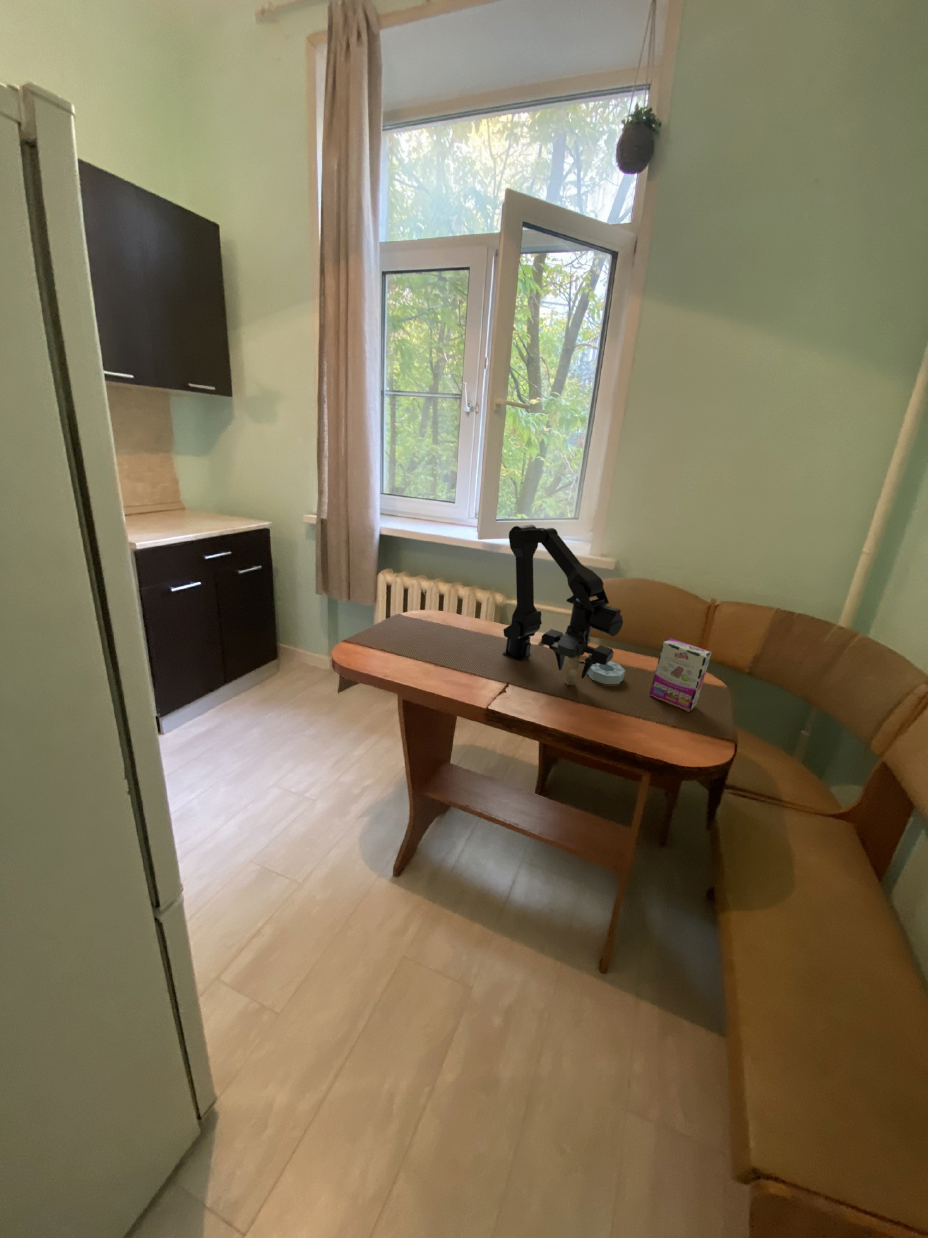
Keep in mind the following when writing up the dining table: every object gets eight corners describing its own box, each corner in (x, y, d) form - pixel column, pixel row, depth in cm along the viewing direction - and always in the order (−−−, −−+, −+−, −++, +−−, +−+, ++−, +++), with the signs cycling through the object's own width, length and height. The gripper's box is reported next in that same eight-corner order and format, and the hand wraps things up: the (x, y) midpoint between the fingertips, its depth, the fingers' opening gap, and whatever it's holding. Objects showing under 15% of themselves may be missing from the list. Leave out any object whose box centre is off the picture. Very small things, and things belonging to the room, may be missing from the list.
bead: (582, 676, 139) (584, 667, 138) (594, 665, 146) (596, 656, 145) (614, 688, 134) (617, 679, 133) (626, 676, 141) (628, 667, 140)
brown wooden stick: (577, 661, 148) (578, 660, 147) (578, 660, 148) (578, 659, 148) (617, 671, 143) (618, 670, 143) (618, 670, 144) (618, 669, 144)
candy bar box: (696, 706, 129) (713, 651, 122) (689, 713, 125) (706, 657, 119) (655, 689, 135) (669, 636, 129) (648, 695, 132) (662, 641, 126)
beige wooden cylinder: (562, 683, 134) (568, 651, 130) (567, 679, 136) (572, 648, 133) (572, 687, 133) (578, 654, 129) (576, 683, 135) (582, 651, 131)
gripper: (535, 620, 126) (527, 672, 132) (604, 642, 116) (592, 698, 122) (554, 609, 135) (546, 659, 141) (619, 629, 125) (607, 681, 131)
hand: (571, 673), depth 133 cm, fingers open, 6 cm apart
